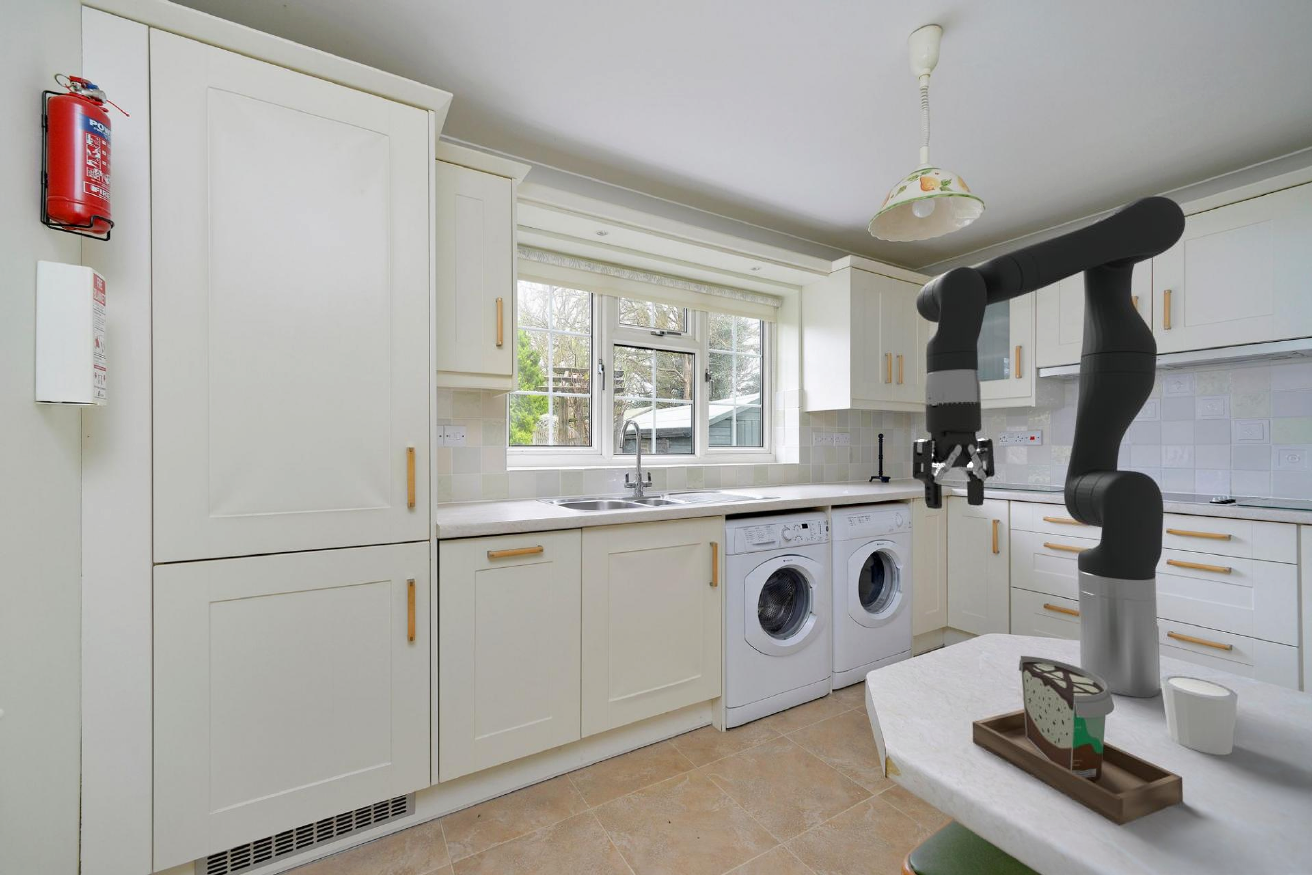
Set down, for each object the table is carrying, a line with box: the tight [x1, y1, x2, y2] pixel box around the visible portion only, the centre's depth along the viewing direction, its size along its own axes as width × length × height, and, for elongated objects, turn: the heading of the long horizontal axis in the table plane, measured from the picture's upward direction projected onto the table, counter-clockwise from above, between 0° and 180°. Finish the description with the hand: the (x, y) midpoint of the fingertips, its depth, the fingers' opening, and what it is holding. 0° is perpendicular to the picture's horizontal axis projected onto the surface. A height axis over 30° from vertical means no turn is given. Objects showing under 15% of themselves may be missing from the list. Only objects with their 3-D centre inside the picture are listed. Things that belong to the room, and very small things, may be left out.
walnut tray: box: [972, 708, 1184, 826], centre depth 63 cm, size 10×16×2 cm, turn 20°
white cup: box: [1160, 675, 1239, 756], centre depth 68 cm, size 7×7×7 cm
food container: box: [1018, 655, 1115, 783], centre depth 63 cm, size 12×6×10 cm, turn 171°
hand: (955, 506), depth 83 cm, fingers open, 8 cm apart
